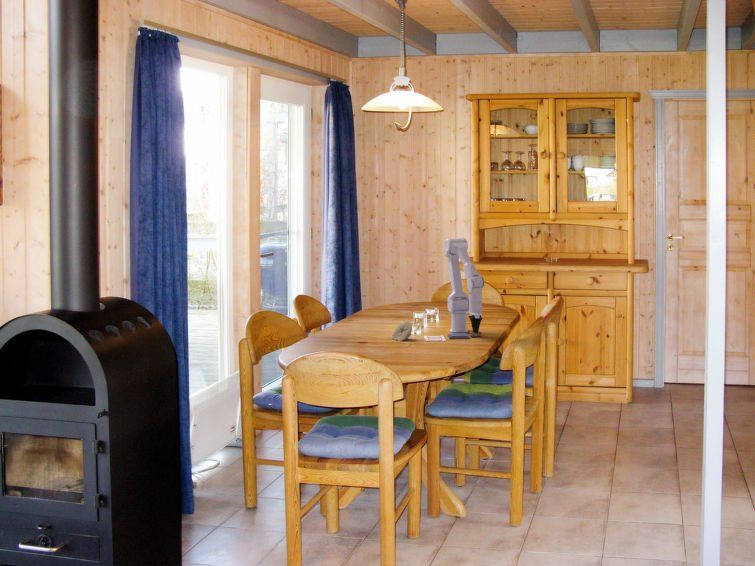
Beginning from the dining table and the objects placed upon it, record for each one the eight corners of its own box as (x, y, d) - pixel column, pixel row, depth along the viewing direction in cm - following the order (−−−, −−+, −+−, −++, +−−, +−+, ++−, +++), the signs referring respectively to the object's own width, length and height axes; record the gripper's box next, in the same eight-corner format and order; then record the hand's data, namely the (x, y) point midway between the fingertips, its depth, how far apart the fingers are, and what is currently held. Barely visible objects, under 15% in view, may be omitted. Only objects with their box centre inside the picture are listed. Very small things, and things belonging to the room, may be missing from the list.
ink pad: (447, 335, 432) (447, 333, 432) (467, 335, 433) (467, 332, 432) (449, 339, 423) (449, 336, 423) (469, 338, 424) (469, 336, 423)
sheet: (423, 336, 433) (423, 335, 433) (443, 335, 433) (443, 335, 433) (425, 341, 419) (425, 340, 419) (445, 340, 419) (445, 340, 419)
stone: (391, 343, 421) (387, 323, 425) (396, 348, 427) (392, 329, 431) (412, 336, 418) (408, 316, 423) (418, 341, 424) (413, 322, 429)
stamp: (470, 335, 432) (470, 323, 431) (479, 335, 432) (479, 323, 431) (471, 337, 427) (471, 325, 427) (480, 337, 427) (480, 325, 427)
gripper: (465, 300, 435) (465, 329, 437) (468, 304, 421) (468, 334, 422) (480, 300, 435) (480, 329, 437) (484, 304, 421) (484, 334, 422)
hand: (475, 331), depth 429 cm, fingers closed on stamp, 3 cm apart
